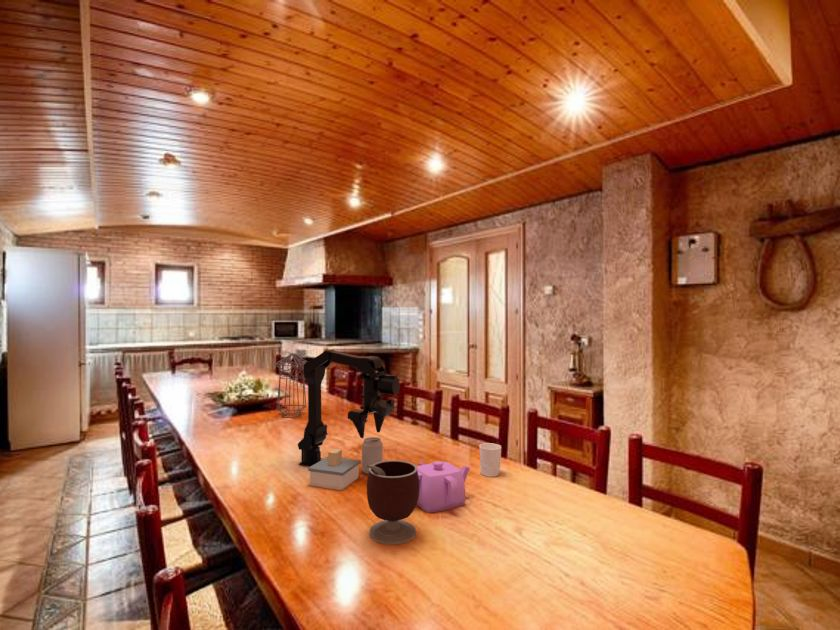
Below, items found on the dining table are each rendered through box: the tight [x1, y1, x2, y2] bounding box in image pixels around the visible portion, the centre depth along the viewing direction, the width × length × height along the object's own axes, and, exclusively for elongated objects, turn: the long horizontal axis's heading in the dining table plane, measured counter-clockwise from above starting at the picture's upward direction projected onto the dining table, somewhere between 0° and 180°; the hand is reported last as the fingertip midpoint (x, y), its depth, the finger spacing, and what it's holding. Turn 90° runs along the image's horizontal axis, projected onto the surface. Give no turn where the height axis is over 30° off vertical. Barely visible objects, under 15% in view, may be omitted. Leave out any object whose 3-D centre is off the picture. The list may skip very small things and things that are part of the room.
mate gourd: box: [366, 459, 419, 546], centre depth 118 cm, size 16×14×20 cm
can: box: [361, 436, 384, 475], centre depth 164 cm, size 8×8×12 cm
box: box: [309, 464, 360, 491], centre depth 154 cm, size 12×12×5 cm
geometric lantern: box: [274, 353, 308, 419], centre depth 250 cm, size 16×16×35 cm
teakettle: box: [416, 460, 471, 513], centre depth 138 cm, size 17×17×12 cm
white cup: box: [478, 442, 502, 478], centre depth 163 cm, size 8×8×10 cm
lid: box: [307, 448, 362, 476], centre depth 154 cm, size 13×13×6 cm
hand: (370, 435), depth 161 cm, fingers open, 9 cm apart
